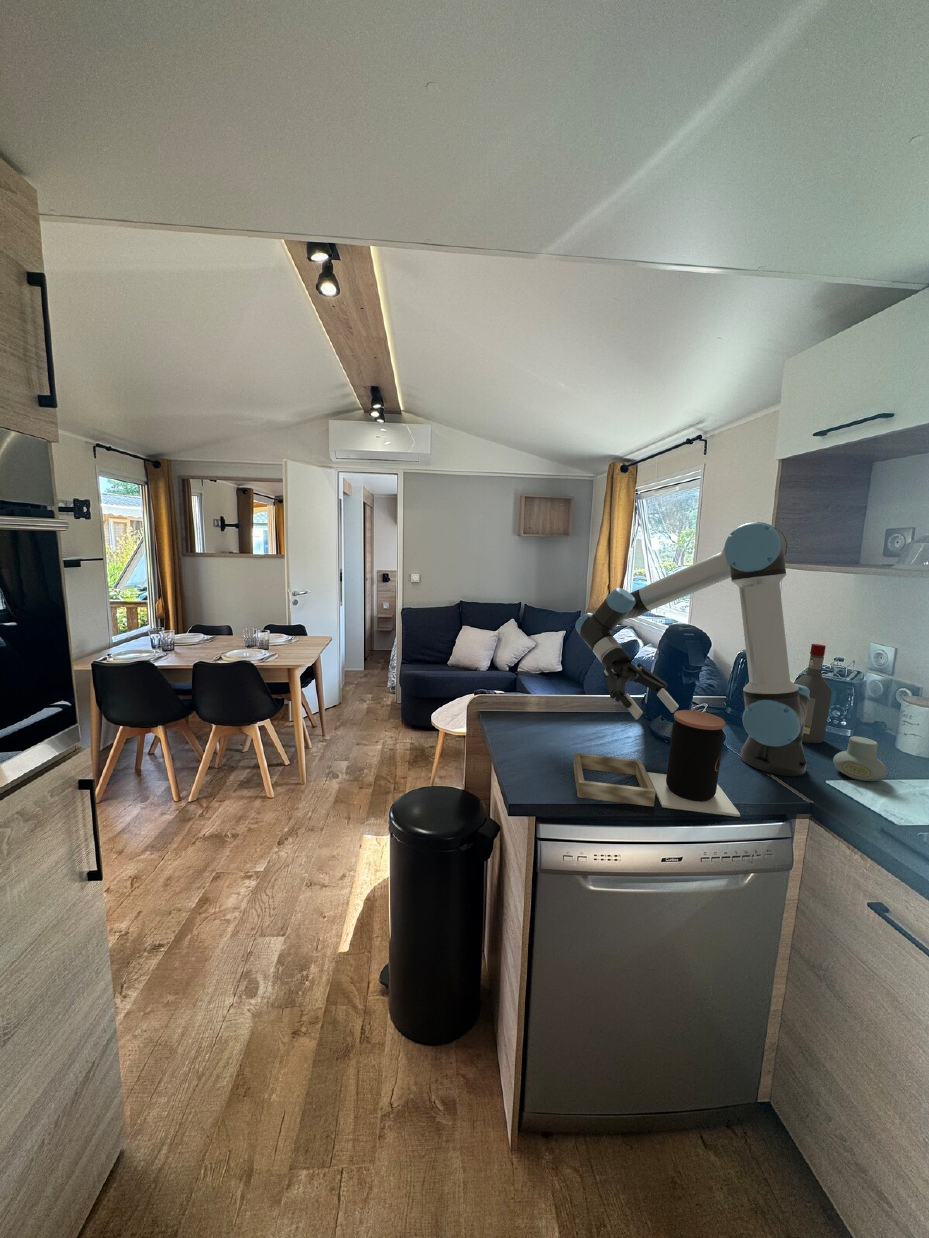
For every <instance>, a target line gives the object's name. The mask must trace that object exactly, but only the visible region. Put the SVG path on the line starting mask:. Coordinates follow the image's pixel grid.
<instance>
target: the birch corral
mask: <svg viewBox="0 0 929 1238" xmlns="http://www.w3.org/2000/svg"><path fill="white" fill-rule="evenodd" d="M573 755H574V756H573V763H572V765H573V772H574V780H575V787H576V792H577V798H581V799H592V800H596V801H606V802H613V803H622V804H630V805H639V806H646V807H655V799H656V793H655V790H654V787H653V785H652V783H651V781H650V779H649V777H648V775H647V770H646V768H645V766H644V764H643V762H642V760H640V759H634V758H624V757H615V756H606V755H605V756H604V755H597V754H587V753H578V752H574V754H573ZM583 770H591V771H598V772H599V771H600V772H608V773H617V774H623V775H634V776H635V777H636V780H637V782H638V785H639V786H632V785H623V784H615V783H614V784H613V783H608V782H607V783H605V782H599V781H598V782H597V781H591V780H590V781H589V780H585V779H584V772H583Z"/></svg>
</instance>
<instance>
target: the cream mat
mask: <svg viewBox="0 0 929 1238" xmlns="http://www.w3.org/2000/svg"><path fill="white" fill-rule="evenodd" d="M646 772H647V771H646ZM647 775H648V777H649V779H650V781H651V783H652V785H653V787H654V790H655V796H656V797H657V799H658V801H659V803H660V806H661V808H665V809H666V808H667V809H674V810H683V811H689V812H690V811H692V812H698V813H706V814H714V815H720V816H721V815H723V816H731V817H736V818H737V817H738V818H740V817H741V814H740V812H739V810H738V809H737V807H736V806H735V805H734V804H733V802H732V801H731V800H730V799H729V797H728V796H727V794H726V793H725V792H724V790H723V789H722V787H720V785H719V784H718V783H717V789H716V794H715V795H714V797H713V798H711V800H708V801H703V802H699V801H692V800H687V799H684V798H681V797H679V796H677V795H675V794H674V793H672V792H671V791H670V789H669V788H668V786H667V784H666V776H667V773H666V774H664V773H657V772H650V771H649V772H647Z"/></svg>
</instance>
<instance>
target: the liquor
mask: <svg viewBox="0 0 929 1238" xmlns="http://www.w3.org/2000/svg"><path fill="white" fill-rule="evenodd" d="M825 653H826V645H824V644H818V643H811V646H810V652H809V654H810V656H809V663H808V667H807V670H806V673H805V674H804V675H802V676H801V677H799V678H798V679H796V680H794V681H793V682H792V683H793V684H798V685H802V686H805V687H807V688H808V689H809V691H810V694H809V697H810V700H809V701H808V708H807V714H806V720H805V726H804V732H803V738H802V743H806V744H822V743H823V742H824V741H825V737H826V730H827V725H828V719H829V718H828V717H829V712H830V707H831V701H832V695H833V693H832V692H833V691H832V688H831V686H830V685H829V683H827V681H826V680H825V679H824V678H823V676H822V675H823V674H822V669H823V660H824V657H825Z"/></svg>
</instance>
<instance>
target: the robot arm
mask: <svg viewBox="0 0 929 1238" xmlns="http://www.w3.org/2000/svg"><path fill="white" fill-rule="evenodd" d="M787 552H788V539H787V538H786V536H785V534H784V533H783V532H782V531H781V530H780V529H779V528H777V527H775V526H773V525H772V524H769V523H767V522H763V521H762V522H761V521H755V522H753V521H752V522H748V523H744V524H741V525H739V526H738V527H736V528H735V529H733V531H731V532H730V533H729V534H728V536H727V538H726V540H725V543H724V547H723V549H722V551H721V552H719V553H716V554H714V555H711V556H709V557H708V558H705V559H703V560H700V561H699V562H696V563H694V564H692V565H689V566H687V567H685V568H683V569H680V570H679V571H675V572H673V573H671V574H669V575H668V576H664V577H663V578H661V579H658V580H656V581H654V582H652V583H650V584H647V585H645V586H642V587H640V588H639V589H636V590H634V591H632V592H629V591H628V590H626V589H624V588H621V587H615V588H613V590H612V591H611V592H610V593H609V594H607V596H606V598H605V599H604V600H603V602H601V604H599V605H600V606H599V607H597V609H596V610H595V611H594V613H593V612H587V613H584V614H583V615H582V616H579V618H577V620H576V622H575V626H574V627H575V630H576V632H577V633H578V635H579V636H580V638H581V640H583V641H584V643H585V645H587V646H588V648H589V649H590V650H591V651H592V653H593V654H594V655H595V656H596V658H597V659H598V660H599V662H600V663H601V665H602V666H603V667H604V670H603V672H602V675H603V677H604V678H605V680H606V684H607V689H608V693H609V697H610V699H612V700H615V701H616V702H617V703H619V702H620V703H622V705H623V706H624V708H626V709H627V710H628V712H630V714H631V715H632V717H633V718H634V719H635V720H639V719H640V717H641V716H642V715H643V714H644V711H643V710H642V709H641V708H640V706H639V705H638V703H636V701H634V698H632V696H631V694H629V692H628V693H626V683H627V682H628V683H629V682H634V683H639V684H640V685H642V686H644V687H646V688H648V689H650V690H652V691H653V692H656V696H657V697H658V698H659V700H660V701H661V702H662V703H663V704H664V706H665V707H666V708H667V709H668V710H669V712H670V713H673V714H674V713H675V712H676V711H677V710H678V708H679V704H678V703H677V702H676V700H675V699H674V698H673V697H672V695H671V694H670V692H668V691H667V690H666V688H667V687H668V686H669V684H668V683H667V682H666V681H664V680H663V679H661V677H659V676H657V675H656V674H654V673H653V672H652V671H650V670H649V669H648V668H646V667H645V666H644V664H642V663H641V662H638V664H637V665H634V664H633V663H631V656H630V655H629V654H628V653H627V652H626V650H625V649H624V648H623V647H622V645H621V644H620V643H619V642H618V640H617V639H616V638H615V637H614V636H613V634H612V632H613V631H614V630H615V628H616V627H617V626H618V625H619V624H620V622H622V621H624V620H628V619H635V618H638V617H641V616H643V615H644V614H646V613H648V612H650V611H652V610H655V609H658V608H660V607H662V606H665V605H667V604H669V603H672V602H675V601H677V600H679V599H682V598H684V597H686V596H689V595H691V594H695V593H696V592H699V591H701V590H704V589H706V588H708V587H711V586H713V585H716V584H719V583H721V582H722V581H726V580H729V579H730V580H731V582H732V583H733V584H734V585H736V586H737V587H738V588H739V598H740V608H741V617H742V625H743V626H742V627H743V636H744V646H745V655H746V661H747V663H746V664H747V671H748V672H747V673H748V680H749V681H748V683H747V684H745V686H744V687H743V689H742V690H743V699H744V710H743V713H742V725H743V728H744V730H745V731H746V733H747V734H748V737H747V739H745V742H744V744H743V746H742V748H741V750H740V759H741V760H742V761H743V762H744V763H745V764H747V765H748V766H750V767H753V768H754V769H757V770H760V771H763V772H766V773H769V774H773V775H777V776H783V777H800V776H803V775H805V774H806V769H807V760H806V757H805V756H806V755H805V751H804V746H803V742H802V738H803V732H804V726H805V720H806V714H807V708H808V701H809V700H810V697H809V694H810V691H809V689H808V688H807V687H805V686H802V685H798V684H793V683H794V682H792V681H791V678H790V677H791V676H790V668H789V659H788V658H789V657H788V649H787V638H786V631H785V622H784V621H785V620H784V611H783V603H782V601H783V600H782V592H781V584H780V583H781V581H783V579H784V578H785V577H786V576H787V570H786V569H787V568H786V559H785V557H786V555H787Z"/></svg>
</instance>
